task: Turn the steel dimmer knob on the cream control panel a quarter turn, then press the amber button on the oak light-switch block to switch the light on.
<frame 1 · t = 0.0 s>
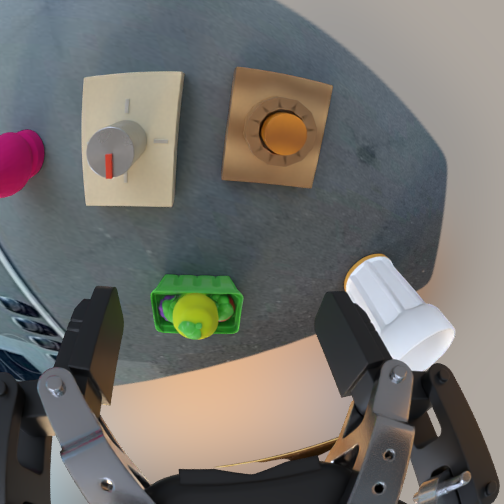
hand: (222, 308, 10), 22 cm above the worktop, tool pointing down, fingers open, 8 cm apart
pepper mill: (27, 153, 23), on the worktop
cup: (367, 275, 42), on the worktop
dimmer panel: (133, 136, 25), on the worktop
light button: (284, 133, 24), point 4 cm above the worktop, slide at 0.1 cm
dimmer knob: (117, 147, 21), point 6 cm above the worktop, hinge at 0.0°
fruit basket: (196, 284, 38), on the worktop
switch block: (273, 127, 27), on the worktop
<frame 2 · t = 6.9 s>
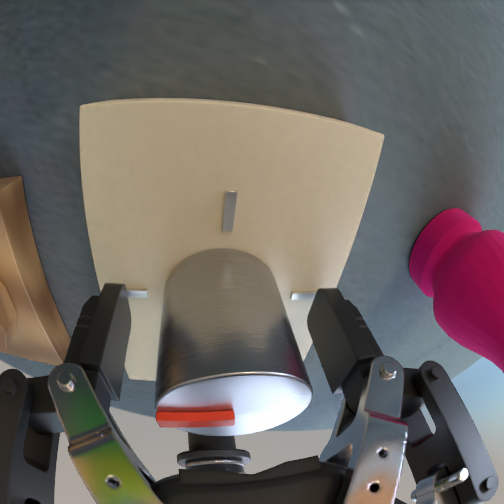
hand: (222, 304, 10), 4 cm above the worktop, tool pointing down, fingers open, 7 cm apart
pepper mill: (439, 245, 16), on the worktop
dimmer panel: (216, 252, 13), on the worktop
dimmer knob: (226, 348, 9), point 6 cm above the worktop, hinge at 93.7°
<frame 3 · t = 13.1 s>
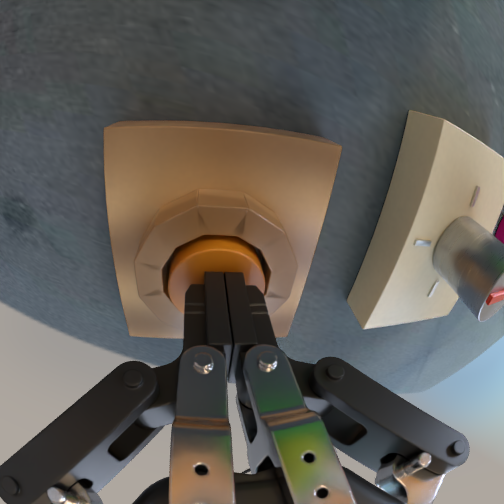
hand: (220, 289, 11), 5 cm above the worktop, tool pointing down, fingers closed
dimmer panel: (429, 223, 17), on the worktop
light button: (215, 277, 12), point 4 cm above the worktop, slide at -0.7 cm, touching gripper
dimmer knob: (479, 268, 12), point 6 cm above the worktop, hinge at 93.7°
switch block: (212, 235, 15), on the worktop
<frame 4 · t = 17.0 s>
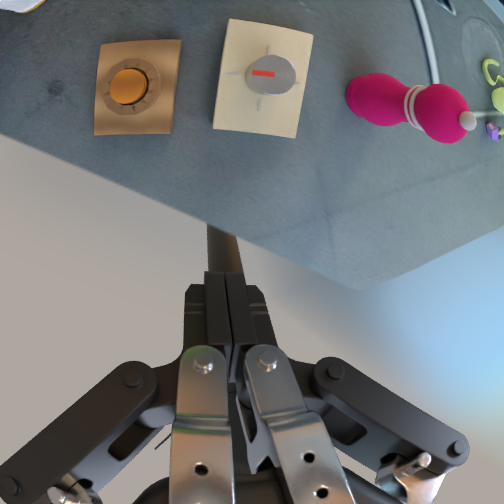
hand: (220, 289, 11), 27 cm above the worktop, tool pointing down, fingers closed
pepper mill: (363, 96, 32), on the worktop
dimmer panel: (259, 78, 29), on the worktop
light button: (128, 86, 23), point 4 cm above the worktop, slide at 0.1 cm
dimmer knob: (269, 75, 24), point 6 cm above the worktop, hinge at 93.7°
switch block: (137, 86, 27), on the worktop
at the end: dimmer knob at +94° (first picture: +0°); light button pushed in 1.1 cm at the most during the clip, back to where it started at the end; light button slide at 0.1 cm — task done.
